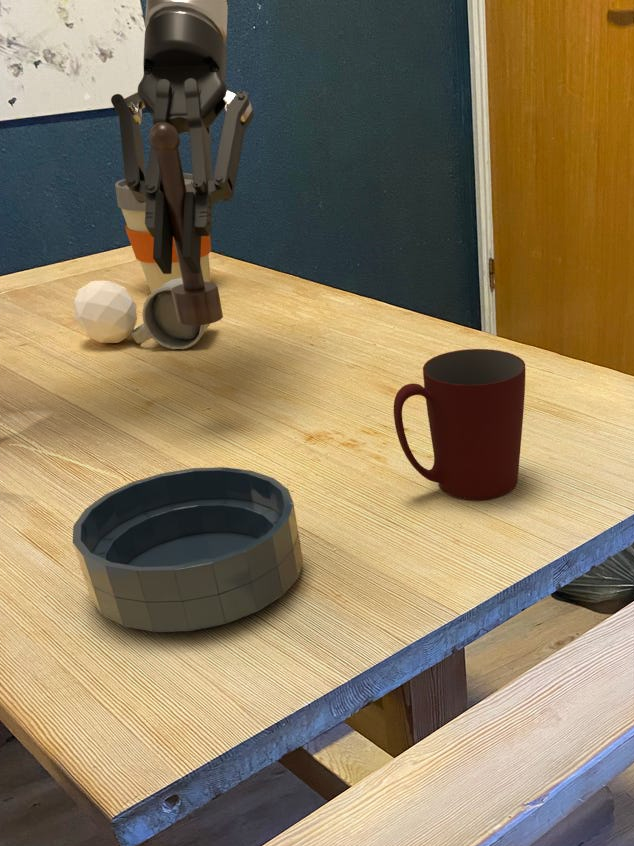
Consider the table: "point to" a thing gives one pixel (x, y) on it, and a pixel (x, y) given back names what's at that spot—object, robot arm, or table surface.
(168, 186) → the muddler
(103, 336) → the geometric ball
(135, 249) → the reusable coffee cup
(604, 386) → the table surface
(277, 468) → the table surface
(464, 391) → the mug
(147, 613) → the bowl
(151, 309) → the ceramic mug
